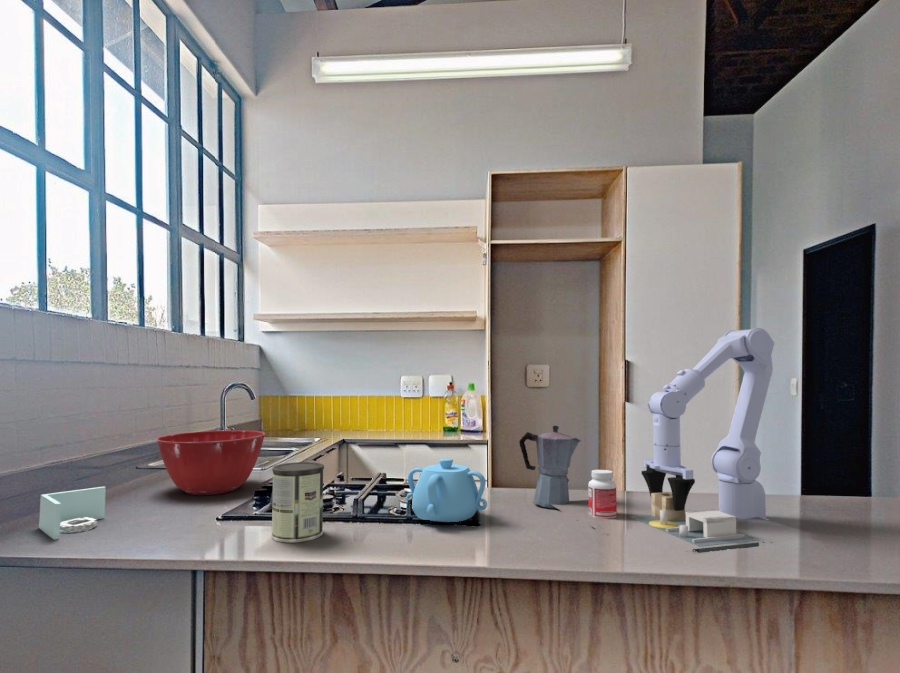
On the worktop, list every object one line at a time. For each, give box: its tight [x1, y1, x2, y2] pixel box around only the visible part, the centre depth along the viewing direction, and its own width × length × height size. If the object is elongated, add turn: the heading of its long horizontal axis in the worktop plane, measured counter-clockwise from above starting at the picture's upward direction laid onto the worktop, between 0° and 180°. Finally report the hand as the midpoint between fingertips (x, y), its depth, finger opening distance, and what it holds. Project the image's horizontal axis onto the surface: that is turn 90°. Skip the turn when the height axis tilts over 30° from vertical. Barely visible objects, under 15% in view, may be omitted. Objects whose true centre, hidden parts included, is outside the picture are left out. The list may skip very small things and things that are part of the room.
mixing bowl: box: [156, 429, 266, 496], centre depth 157 cm, size 28×28×16 cm
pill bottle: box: [587, 469, 618, 520], centre depth 127 cm, size 6×6×11 cm
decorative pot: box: [405, 457, 488, 523], centre depth 128 cm, size 16×16×14 cm
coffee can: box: [271, 461, 325, 543], centre depth 115 cm, size 10×10×14 cm
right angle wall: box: [38, 486, 107, 540], centre depth 119 cm, size 12×12×8 cm
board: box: [630, 510, 760, 554], centre depth 117 cm, size 14×22×4 cm, turn 17°
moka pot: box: [519, 425, 581, 509], centre depth 141 cm, size 10×15×20 cm, turn 89°
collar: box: [650, 491, 686, 521], centre depth 125 cm, size 5×5×5 cm
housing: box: [685, 509, 737, 538], centre depth 113 cm, size 7×6×4 cm
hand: (667, 506), depth 125 cm, fingers open, 7 cm apart
